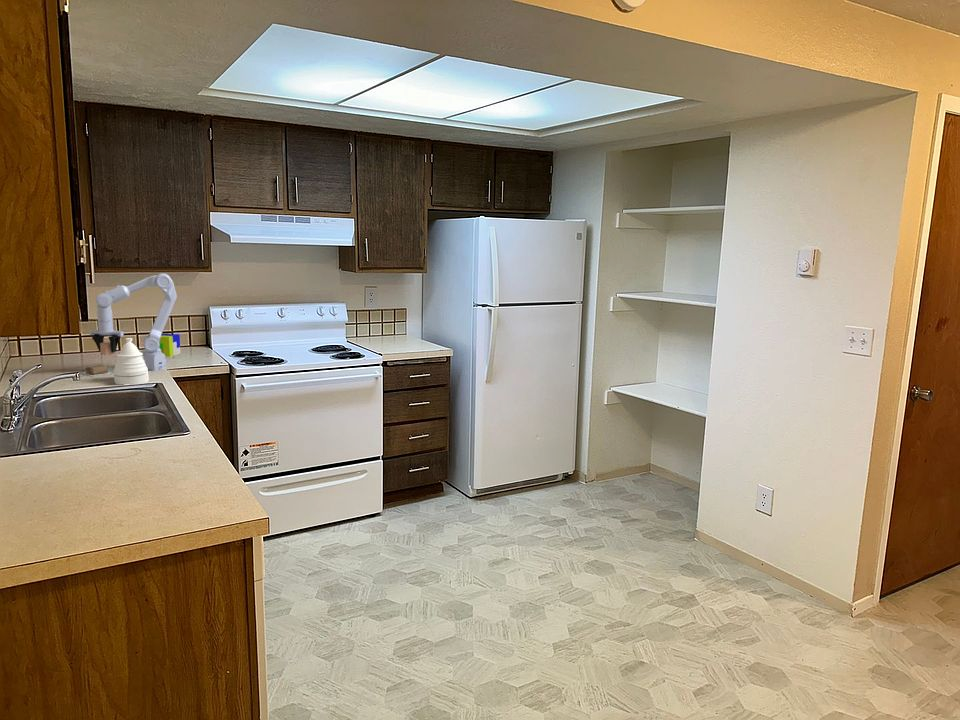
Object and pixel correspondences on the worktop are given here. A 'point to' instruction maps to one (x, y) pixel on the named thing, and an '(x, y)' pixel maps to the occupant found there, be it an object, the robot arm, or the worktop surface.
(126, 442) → the worktop surface
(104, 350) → the top block
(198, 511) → the worktop surface
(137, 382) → the honey pot
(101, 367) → the base block
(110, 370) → the build board
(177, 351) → the puzzle toy
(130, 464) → the worktop surface
